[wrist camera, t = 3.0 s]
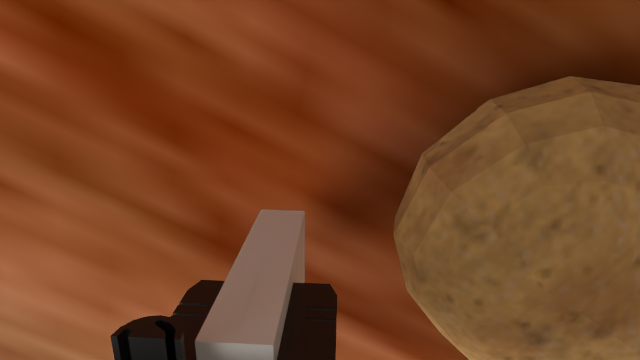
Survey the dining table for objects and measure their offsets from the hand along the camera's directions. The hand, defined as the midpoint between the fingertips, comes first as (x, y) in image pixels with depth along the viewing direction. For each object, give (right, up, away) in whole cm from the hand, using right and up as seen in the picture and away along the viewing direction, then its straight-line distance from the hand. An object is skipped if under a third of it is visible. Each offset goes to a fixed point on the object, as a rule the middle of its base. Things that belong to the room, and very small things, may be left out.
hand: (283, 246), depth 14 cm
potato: (+10, +1, +2) cm, 10 cm away
